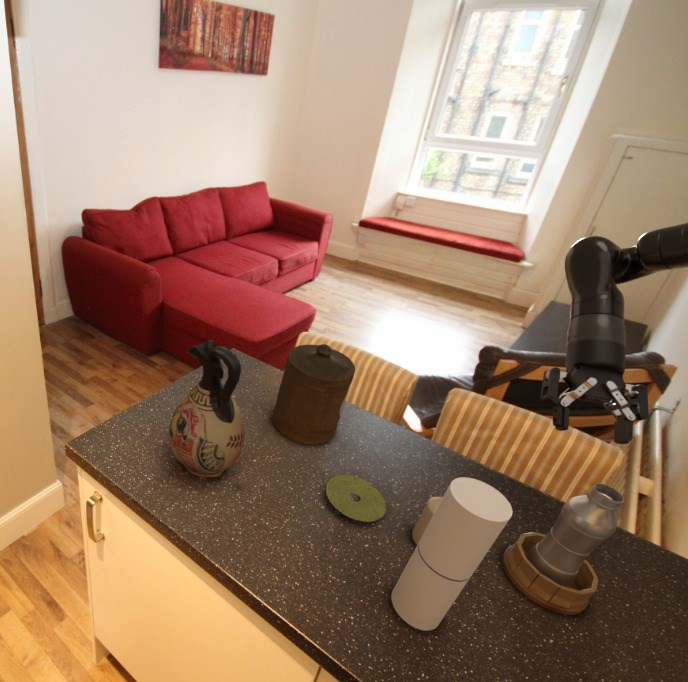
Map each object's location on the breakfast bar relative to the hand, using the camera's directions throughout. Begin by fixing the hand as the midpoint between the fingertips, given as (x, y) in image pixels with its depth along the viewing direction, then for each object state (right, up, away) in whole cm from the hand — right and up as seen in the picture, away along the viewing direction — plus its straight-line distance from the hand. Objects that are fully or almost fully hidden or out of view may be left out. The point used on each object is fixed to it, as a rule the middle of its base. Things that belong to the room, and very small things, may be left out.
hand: (591, 436), depth 74 cm
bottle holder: (-6, -25, +2) cm, 26 cm away
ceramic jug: (-63, -10, +20) cm, 67 cm away
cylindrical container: (-31, -26, -3) cm, 41 cm away
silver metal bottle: (-6, -24, +2) cm, 25 cm away
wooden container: (-38, -4, +34) cm, 51 cm away
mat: (-34, -16, +14) cm, 40 cm away
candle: (-23, -21, +7) cm, 32 cm away
